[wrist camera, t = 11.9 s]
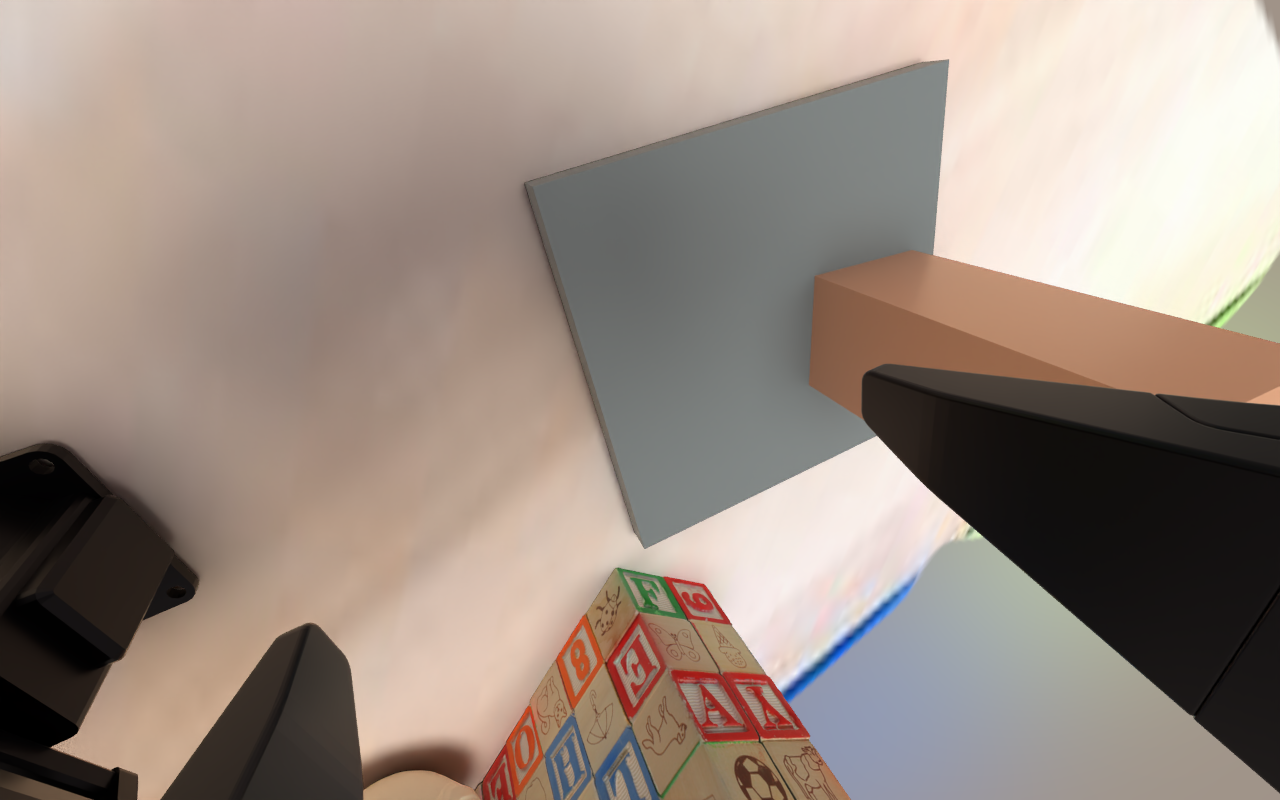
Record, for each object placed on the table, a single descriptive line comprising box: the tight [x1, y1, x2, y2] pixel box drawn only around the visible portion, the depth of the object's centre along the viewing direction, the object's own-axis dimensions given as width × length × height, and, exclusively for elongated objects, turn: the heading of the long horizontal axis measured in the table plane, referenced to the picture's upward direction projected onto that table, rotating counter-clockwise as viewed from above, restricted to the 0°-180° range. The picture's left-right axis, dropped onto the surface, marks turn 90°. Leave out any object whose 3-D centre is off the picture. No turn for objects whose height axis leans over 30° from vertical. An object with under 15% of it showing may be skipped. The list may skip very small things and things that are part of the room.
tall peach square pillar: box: [809, 250, 1280, 420], centre depth 18 cm, size 5×5×12 cm
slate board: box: [524, 60, 949, 549], centre depth 22 cm, size 16×16×1 cm
